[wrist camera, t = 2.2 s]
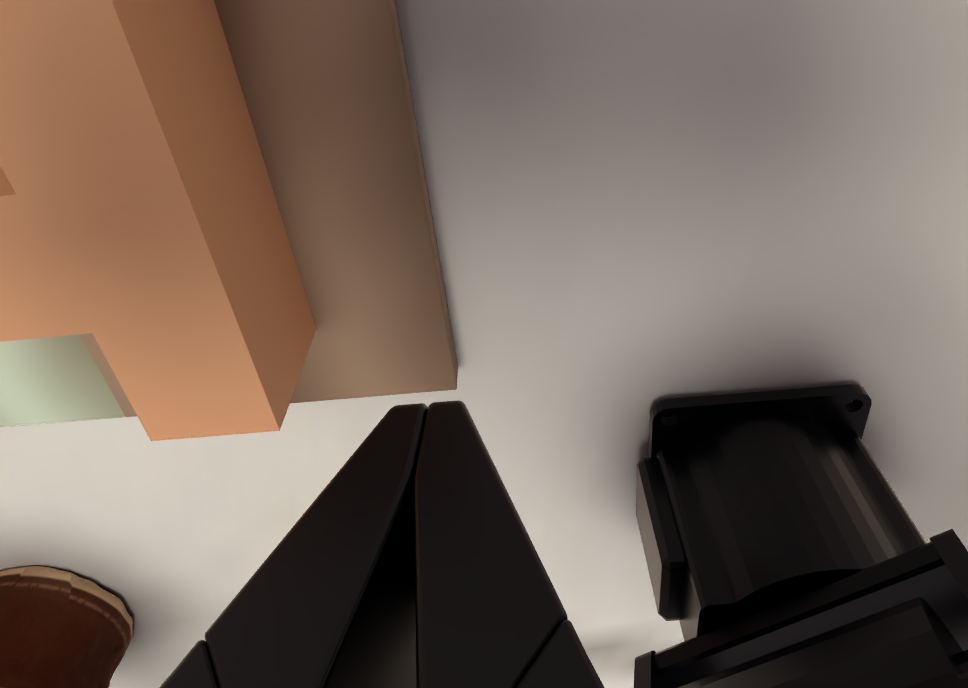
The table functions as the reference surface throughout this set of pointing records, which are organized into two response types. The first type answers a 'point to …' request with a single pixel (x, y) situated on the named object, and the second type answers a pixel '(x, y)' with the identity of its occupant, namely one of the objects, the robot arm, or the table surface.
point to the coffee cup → (59, 630)
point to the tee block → (146, 212)
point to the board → (307, 216)
